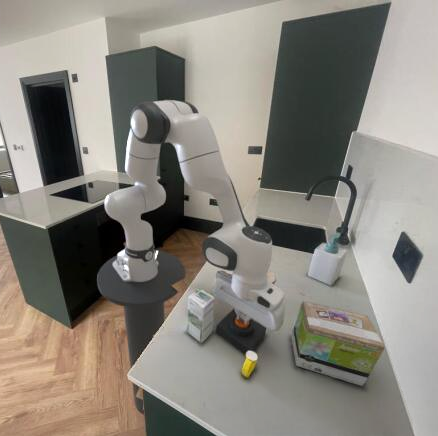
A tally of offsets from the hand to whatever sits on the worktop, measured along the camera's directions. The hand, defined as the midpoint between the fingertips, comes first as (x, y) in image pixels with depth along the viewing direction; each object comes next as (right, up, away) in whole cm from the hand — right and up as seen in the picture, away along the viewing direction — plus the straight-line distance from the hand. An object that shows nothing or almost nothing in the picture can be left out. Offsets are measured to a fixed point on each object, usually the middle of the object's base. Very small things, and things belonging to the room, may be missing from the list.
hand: (242, 321), depth 69 cm
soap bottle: (+43, +6, +27) cm, 51 cm away
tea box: (+20, -8, -6) cm, 23 cm away
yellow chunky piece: (-1, -10, -8) cm, 13 cm away
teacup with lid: (+11, +1, +17) cm, 20 cm away
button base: (0, -5, +2) cm, 6 cm away
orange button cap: (0, -2, +1) cm, 2 cm away
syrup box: (-12, -5, +3) cm, 14 cm away
